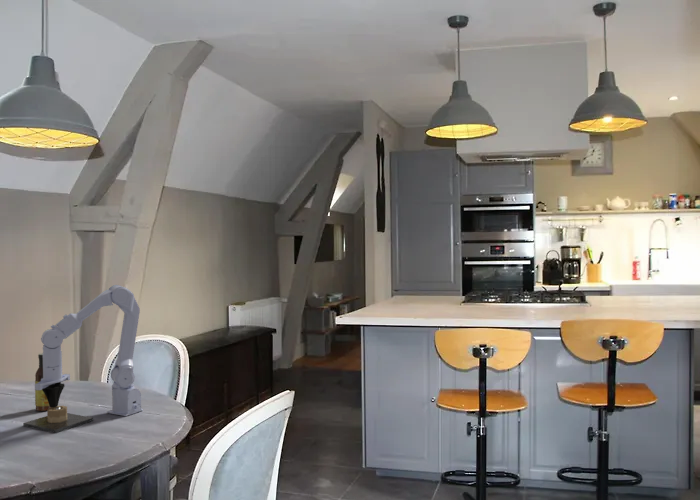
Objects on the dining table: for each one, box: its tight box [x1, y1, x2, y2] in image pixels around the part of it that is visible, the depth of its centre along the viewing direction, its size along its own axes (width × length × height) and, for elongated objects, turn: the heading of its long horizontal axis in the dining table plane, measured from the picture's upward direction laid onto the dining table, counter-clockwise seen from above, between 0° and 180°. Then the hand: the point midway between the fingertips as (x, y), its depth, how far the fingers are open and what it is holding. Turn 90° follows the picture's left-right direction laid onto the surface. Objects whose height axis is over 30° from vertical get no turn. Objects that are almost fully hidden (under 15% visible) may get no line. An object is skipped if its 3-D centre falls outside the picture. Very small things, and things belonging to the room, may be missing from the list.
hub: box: [22, 407, 94, 434], centre depth 207 cm, size 16×14×5 cm
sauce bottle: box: [34, 352, 51, 412], centre depth 224 cm, size 6×6×20 cm
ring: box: [46, 405, 68, 423], centre depth 207 cm, size 6×6×4 cm
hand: (53, 406), depth 208 cm, fingers closed
